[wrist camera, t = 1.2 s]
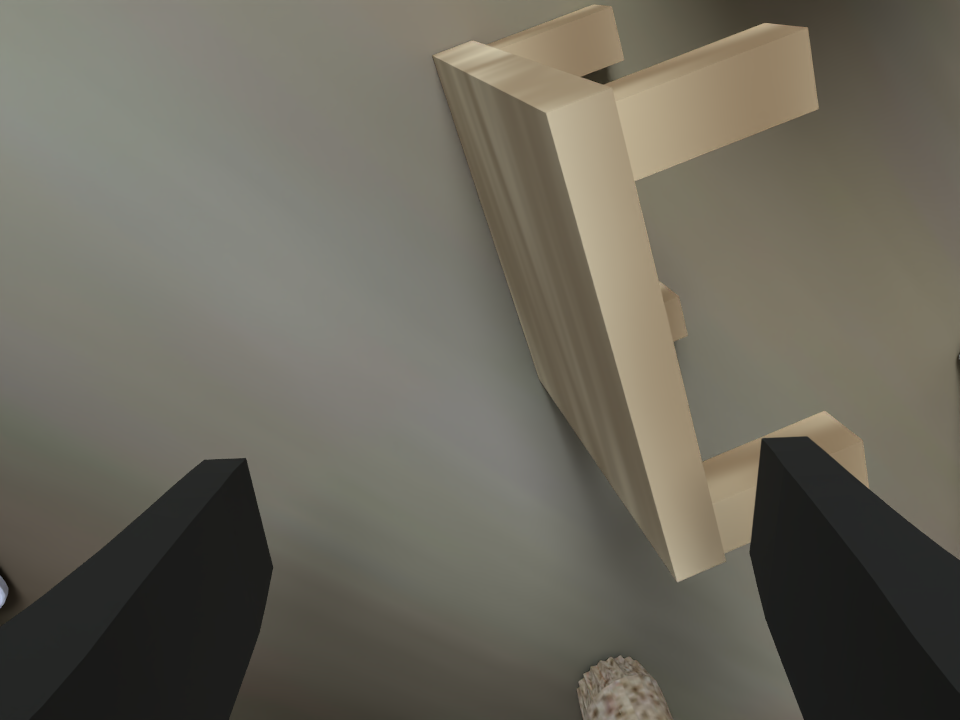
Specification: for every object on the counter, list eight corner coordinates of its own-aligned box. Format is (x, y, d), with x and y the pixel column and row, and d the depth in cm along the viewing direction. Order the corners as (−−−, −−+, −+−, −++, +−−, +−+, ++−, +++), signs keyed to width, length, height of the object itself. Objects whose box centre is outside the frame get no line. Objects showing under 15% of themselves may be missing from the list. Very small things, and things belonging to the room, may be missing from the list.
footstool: (539, 379, 24) (677, 582, 16) (432, 55, 20) (545, 113, 12) (670, 325, 24) (870, 499, 16) (591, -5, 20) (806, 13, 12)
